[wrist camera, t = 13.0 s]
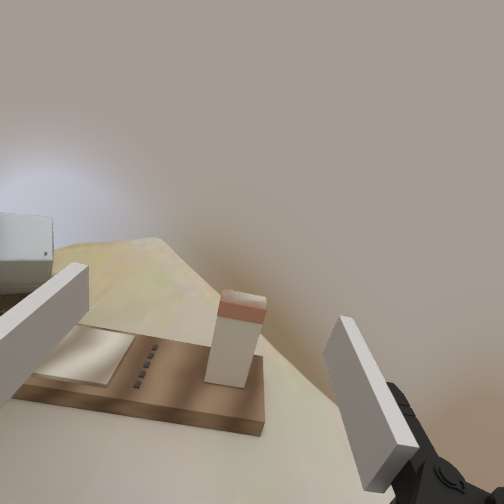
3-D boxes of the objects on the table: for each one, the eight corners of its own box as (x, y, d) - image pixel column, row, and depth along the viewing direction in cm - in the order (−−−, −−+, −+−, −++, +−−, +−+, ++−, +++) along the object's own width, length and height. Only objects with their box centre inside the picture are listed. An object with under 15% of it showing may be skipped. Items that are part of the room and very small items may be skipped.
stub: (203, 381, 34) (220, 300, 29) (206, 366, 36) (222, 288, 32) (244, 388, 34) (266, 309, 30) (244, 372, 37) (266, 297, 32)
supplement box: (50, 253, 49) (55, 215, 41) (49, 293, 47) (54, 261, 38) (-6, 252, 45) (-15, 209, 36) (-11, 295, 42) (-22, 261, 33)
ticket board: (-41, 389, 30) (-47, 368, 29) (29, 329, 39) (26, 311, 38) (259, 436, 32) (266, 418, 31) (258, 368, 41) (263, 353, 40)
